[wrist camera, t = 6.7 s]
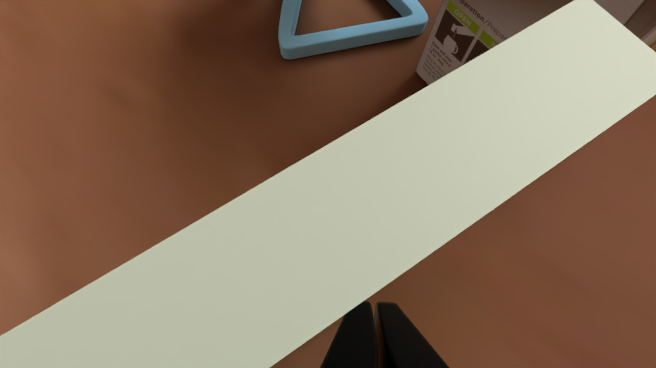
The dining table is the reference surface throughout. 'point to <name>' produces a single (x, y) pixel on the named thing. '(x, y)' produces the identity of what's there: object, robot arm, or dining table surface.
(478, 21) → the coffee box
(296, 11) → the chair
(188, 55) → the dining table surface
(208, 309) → the panel
